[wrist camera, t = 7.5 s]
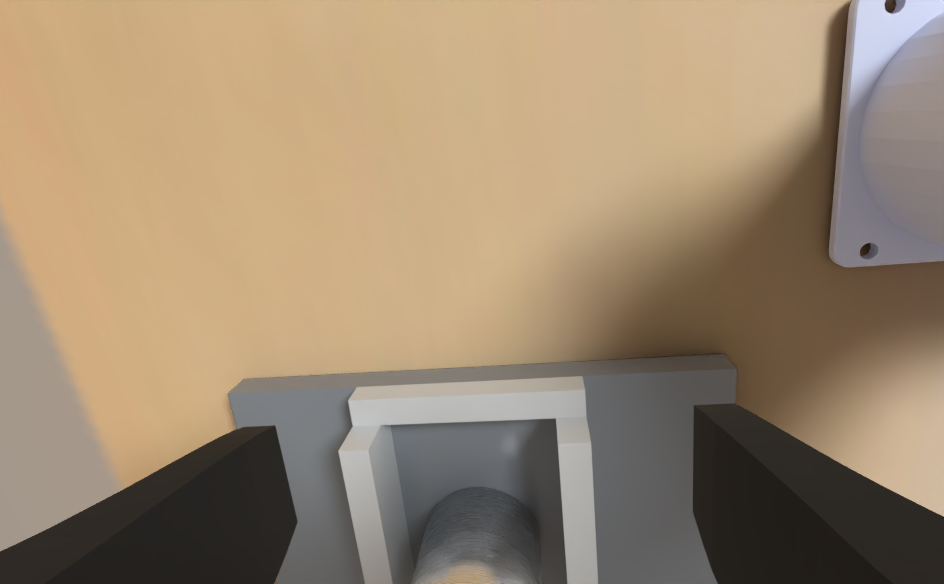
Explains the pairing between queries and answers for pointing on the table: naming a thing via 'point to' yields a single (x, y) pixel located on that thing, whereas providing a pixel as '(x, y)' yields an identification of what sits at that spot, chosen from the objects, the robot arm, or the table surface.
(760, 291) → the table surface
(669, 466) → the grey framed base plate
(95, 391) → the table surface
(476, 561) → the spout can
